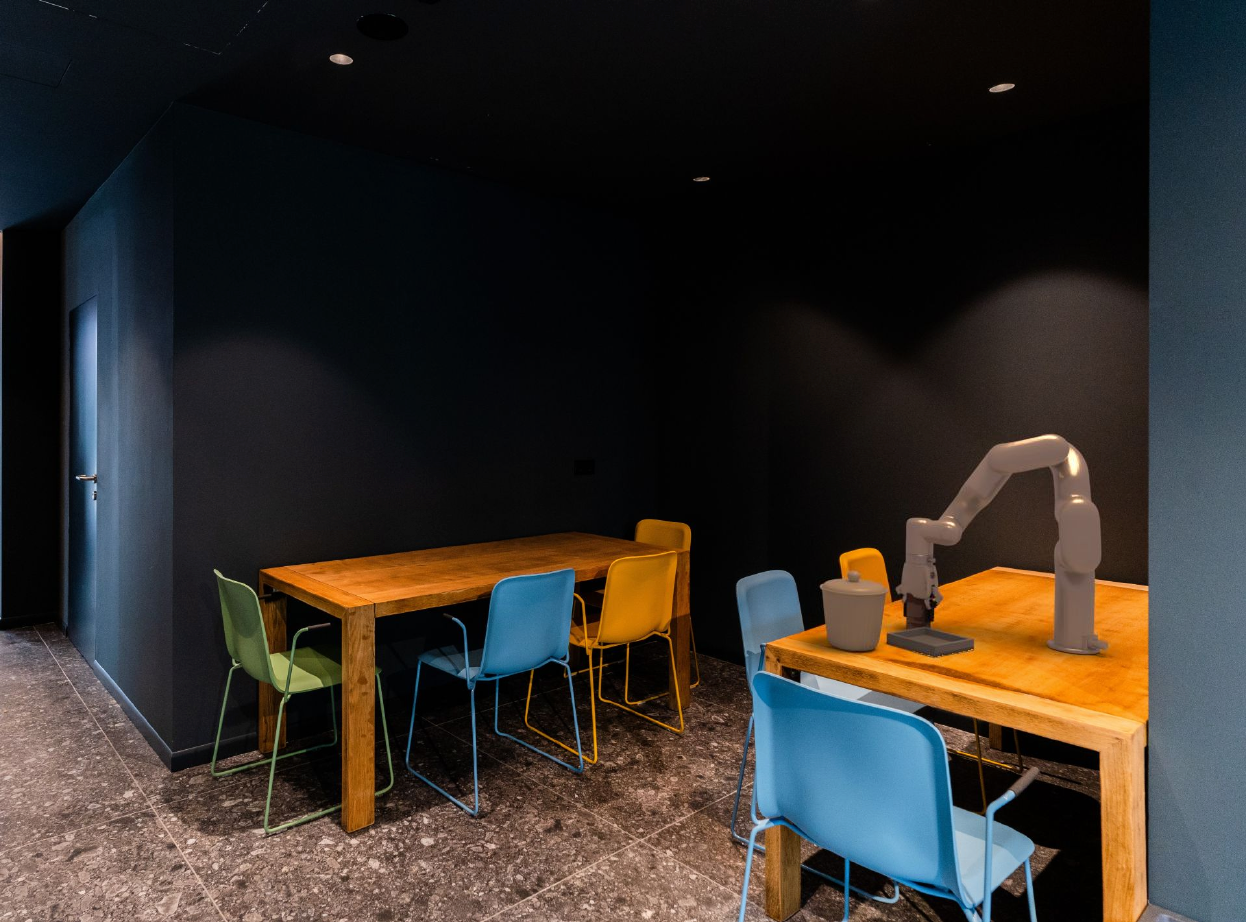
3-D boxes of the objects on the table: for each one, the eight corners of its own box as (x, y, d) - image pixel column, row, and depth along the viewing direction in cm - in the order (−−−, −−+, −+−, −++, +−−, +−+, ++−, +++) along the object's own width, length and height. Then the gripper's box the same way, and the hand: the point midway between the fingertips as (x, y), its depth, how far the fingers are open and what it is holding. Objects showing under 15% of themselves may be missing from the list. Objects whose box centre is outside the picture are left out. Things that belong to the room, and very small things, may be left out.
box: (931, 633, 224) (931, 593, 224) (925, 636, 221) (925, 595, 221) (911, 630, 228) (911, 590, 228) (904, 632, 225) (905, 592, 225)
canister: (858, 636, 220) (859, 564, 220) (902, 652, 204) (903, 574, 203) (806, 641, 214) (807, 567, 213) (846, 658, 197) (847, 578, 197)
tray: (973, 650, 206) (974, 639, 206) (934, 657, 198) (934, 646, 198) (924, 636, 220) (925, 626, 220) (886, 643, 212) (886, 633, 212)
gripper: (953, 563, 218) (952, 624, 219) (904, 555, 234) (903, 612, 234) (935, 564, 215) (934, 626, 215) (887, 556, 230) (886, 614, 230)
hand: (918, 618), depth 225 cm, fingers open, 7 cm apart
